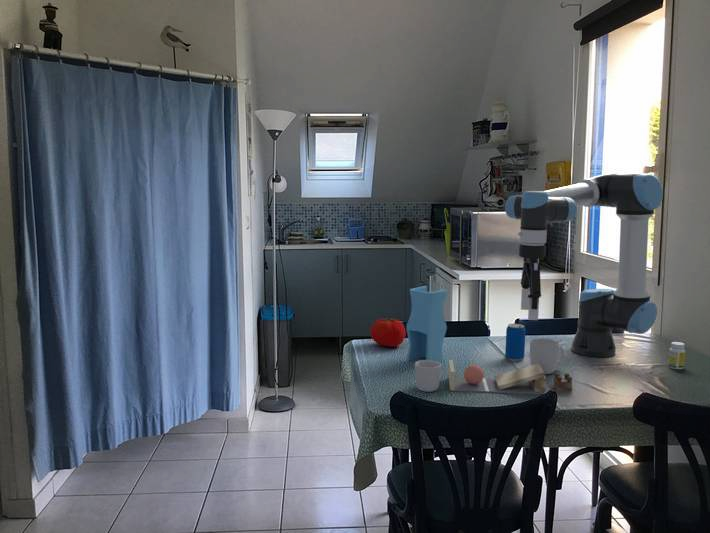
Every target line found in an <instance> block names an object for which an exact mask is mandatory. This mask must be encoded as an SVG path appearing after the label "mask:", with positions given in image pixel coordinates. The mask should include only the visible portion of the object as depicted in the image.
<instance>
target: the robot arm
mask: <svg viewBox="0 0 710 533" xmlns="http://www.w3.org/2000/svg"><path fill="white" fill-rule="evenodd" d="M661 183H662V182H660V180H659V178H658V177H656V176H655V175H654V174H652V173H643V172H637V173H636V172H634V173H633V172H629V173H625V172H624V173H623V172H622V173H621V172H619V173H618V172H610V173H605V174H600V175H596V176H592V177H589V178H584V179H581V180H580V181H579V182H578V183H575V184H571V185H567V186H561V187H558V188H552V189H549V190H544V191H543V190H539V191H538V190H526V191H524V192H523V193H522V195H521V194H517V195H510V196H509V197H508V198H507V200H506V201H505V204H504V213H505V214H506V216H508V218H510V219H514V220H516V221H517V220H520V232H518V233H517V236H519V242H520V243H521V244H519V246H518V248H519V249H518V255H519V257H520V258H523V266H522V272H521V279H520V284H521V300H520V310H522V311H525V310H526V311H528V314H527V316H528V318H527V320H528V321H539V313H540V312H539V310H540V309H539V307H540V298H541V297H542V288H541V263H540V262H539V261H538V259H544V258H545V257H546V252H547V246H546V245H545V244H546V243H547V237H548V236H547V235H548V233H547V232H548V224H549V223H551V224H552V223H566V222H570V221H572V220H573V219H574V218H575V217H576V214H577V208H579V207H582V206H583V207H586V208H590V207H606V208H615V215H617V217H618V218H619V219H620V230H619V231H620V232H619V256H618V258H619V260H618V283H617V284H618V286H617V289H616V290H614V289H612V288H593V289H591V288H590V289H585V290H582V291H581V292H580V294H579V301H578V320H577V331H576V333H575V335H574V337H573V340H572V342H571V350H570V351H572V352H573V353H575V354H578V355H581V356H585V357H594V358H609V357H613V356H615V355H616V350H617V349H616V344H615V340H614V336H613V332H612V330H613V329H615V330H618V331H619V330H620V331H624V332H627V333H630V334H639V335H642V334H645V333H647V332H648V331H650V329H651V328H652V327H653V326H654V324H655V322H656V319H657V315H658V307H657V304H656V303H655V302H653V301H651V294H650V292H649V291H648V290H647V289H646V285H647V284H646V282H647V267H648V266H647V262H648V261H647V260H648V242H649V241H648V240H649V239H648V238H649V220H650V218H652V217H653V215H654V214H655V210H657V209H658V208H660V206H661V204H662V201H663V196H664V195H663V194H664V191H663V186H662V184H661Z"/></svg>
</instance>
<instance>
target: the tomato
mask: <svg viewBox="0 0 710 533" xmlns="http://www.w3.org/2000/svg"><path fill="white" fill-rule="evenodd" d="M406 334H407V330H406V328H405V325H404V324H403V322H402V321H400V320H398V319H396V318H390V317H387V318H379V319H377V320H376V321H375V322H374V323H373V324H372V326H371V328H370V337H371V339H372V340H373V341H374V342H375V343H376V344H378V345H380V346H383V347H391V348H394V347H398V346H399V345H401V344H403V342H404V340H405V338H406Z"/></svg>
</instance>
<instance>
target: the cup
mask: <svg viewBox="0 0 710 533" xmlns="http://www.w3.org/2000/svg"><path fill="white" fill-rule="evenodd" d="M441 371H442V362H440V363H439V362H437V361H432V360H426V359H422V360H417V361H415V362H414V374H415V375H414V376H415V384H416V388H417V390H419V391H420V392H425V393H432V392H435V391H437V390H438V389H439V385H440V378H441Z"/></svg>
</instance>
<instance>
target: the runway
mask: <svg viewBox="0 0 710 533" xmlns="http://www.w3.org/2000/svg"><path fill="white" fill-rule="evenodd" d="M455 372H456V371H455V365H454V360H453V359H448V376H447V378H448V385H449V386H448V387H449V391H450V392H465V393H466V392H467V393H469V392H470V393H486V394H487V393H488V394H489V393H491V394H516V395H518V394H519V395H538V396H541V394H544V393H545V392H547V391H549V390H551V388H550V387H549V385H548V383H547V382H546V386H545V392H535V391H534V389H533V387H532V385H531V383H530V381H528V382H524V383H521V384H518V385H514V386H511V387H507V388H504V389H501V390H499V388H498V385H497V382H496V379H495V378H489V377H488V378H486V377H483V380H482V381H481V382H480V383H479V384H475V385H473V384H469V383H468V382H467V381H466V380H465V378H464V376H463V377H462V376H461V377H460V376H459V377H457V376H456V375H455V374H456V373H455Z"/></svg>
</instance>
